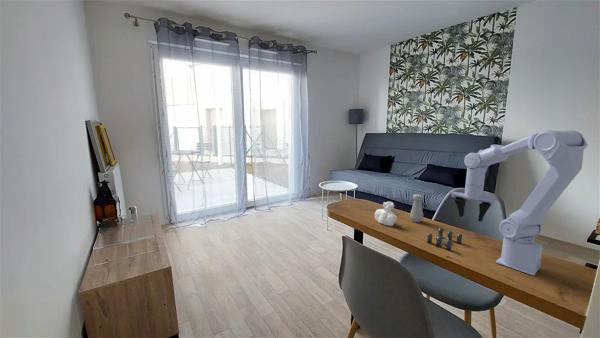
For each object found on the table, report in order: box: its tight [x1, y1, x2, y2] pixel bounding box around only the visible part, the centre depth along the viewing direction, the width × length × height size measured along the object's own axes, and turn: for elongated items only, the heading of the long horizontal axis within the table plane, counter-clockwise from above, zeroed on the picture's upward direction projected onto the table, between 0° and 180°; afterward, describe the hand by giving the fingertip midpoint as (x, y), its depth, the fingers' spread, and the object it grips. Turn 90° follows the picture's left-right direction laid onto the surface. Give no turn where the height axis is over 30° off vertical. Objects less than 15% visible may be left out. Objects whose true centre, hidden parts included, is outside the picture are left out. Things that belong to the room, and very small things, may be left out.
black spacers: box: [426, 227, 463, 252], centre depth 97 cm, size 9×11×4 cm
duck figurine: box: [374, 201, 398, 227], centre depth 117 cm, size 12×8×11 cm
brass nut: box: [434, 234, 449, 246], centre depth 98 cm, size 5×4×2 cm
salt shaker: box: [409, 194, 424, 223], centre depth 120 cm, size 6×6×13 cm
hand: (470, 218), depth 97 cm, fingers open, 6 cm apart
